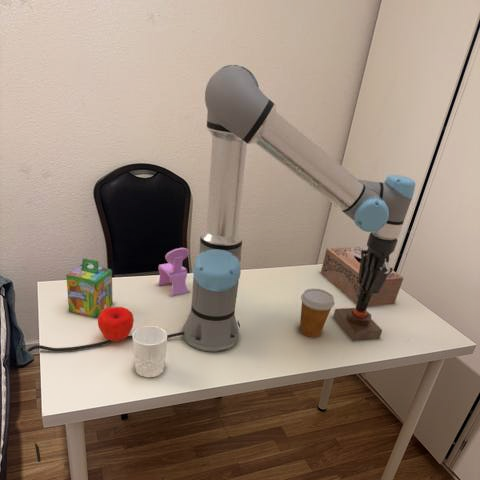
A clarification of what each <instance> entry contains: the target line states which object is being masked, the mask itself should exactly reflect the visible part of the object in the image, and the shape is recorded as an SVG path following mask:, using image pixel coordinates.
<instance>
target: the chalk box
mask: <svg viewBox="0 0 480 480" xmlns="http://www.w3.org/2000/svg"><path fill="white" fill-rule="evenodd" d="M65 278H66V291H67V302H68V303H67V305H68V312H73V313H75V314H81V315H84V316H88V317H92V318H96V319H98V317H99V315H100V313H101V312H102V311H103V310H104V309H106V308H109V307H112V305H113V303H114V302H113V301H114V300H113V270H112V269H111V268H108V267H104V266H99V261H98V260H95V259H90V258H82V261H81V264H80V265H78V266H77V267H76V268H74V269H73V270H71V271H70V272H69V273H67V274H66V275H65Z"/></svg>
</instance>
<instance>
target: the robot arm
mask: <svg viewBox="0 0 480 480" xmlns="http://www.w3.org/2000/svg"><path fill="white" fill-rule="evenodd" d="M204 102H205V107H206V110H207V111H206V112H207V115H206V129H207V131H209V133H210V134H211V152H210V153H211V154H210V166H209V167H210V169H209V183H208V185H209V186H208V200H207V213H206V215H207V216H206V228H205V229H203V231H200V235H199V236H200V238H199V253H198V255H197V256H196V258H195V260H194V264H193V267H192V273H193V277H192V291H191V292H192V293H191V304H190V305H191V306H190V308H191V309H190V311H189V313H188V315H187V317H186V320H185V322H184V324H183V328H182V331H180V332H174V333H171V334H167V339H170V338H175V337H180V336H182V338H183V340H184V341H185V343H186V344H188V345H189V346H190V347H192V348H194V349H197V350H199V351H203V352H208V353H217V352H224V351H227V350H230V349H232V348H233V347H234V346H236V344H237V343H238V340H239V329H240V328H241V324H240V322H239V320H237V319H236V315H235V311H236V306H237V305H236V304H237V297H238V289H239V282H240V277H241V271H242V270H241V260H242V248H243V247H242V246H243V236H242V234H241V233H240V232H239V223H240V214H241V213H240V212H241V203H242V196H243V195H242V194H243V184H244V175H245V167H246V166H245V165H246V156H247V145H252V144H255V145H257V146H258V148H260V149H262V150H263V151H264V152H266V153H267V154H268V155H269V156H271V158H273V159H274V160H275V161H277V162H278V163H279V164H281V165H282V166H283V167H285V168H286V169H287V170H289V171H290V172H291V173H292V174H294V175H295V176H296V177H298V178H299V179H300V180H301V181H303V182H304V183H305V184H307V185H308V186H309V187H310V188H312V189H313V190H314V191H316V192H317V193H318V194H319V195H320V196H322V197H323V198H325V199H326V200H327V201H328V202H329V203H331V204H333V206H334V207H336V208H338V209H339V210H340V211H341V212H342V213H343V214H345V215H346V216H347V217H349V218H350V219H351V220H352V221H353V222H354V224H355V225H356V226H357V227H358V228H359V229H361V231H363V232H365V233H369V235H368V238H367V241H366V246H367V249H363V250H361V263H360V270H359V277H358V284H360V288H361V290H360V293H359V299H358V302H357V304H356V306H355V308H356V310H357V311H366V310H367V309H368V307H367V306H368V303H369V302H370V299H371V296H372V294H378V293H379V291H380V289H381V287H382V285H383V284H384V282H385V280H386V278H387V276H388V275H389V274H390V273H391V272H392V271H394V269H393V267H390V265H389V262H390V256H391V254H392V253H394V252H395V250H396V247H397V244H398V238H399V237H400V235H401V232H402V228H403V225H404V222H405V219H406V216H407V214H408V211H409V208H410V205H411V203H412V201H413V196H414V192H415V189H416V181H415V180H414V179H412V178H411V177H408V176H405V175H400V174H388V175H387V176H386V178H385V180H384V182H382V181H371V180H367V179H366V180H365V179H359V178H357V177H356V176H355V175H353V174H352V173H351V172H350V171H349V170H347V168H346V167H344V166H342V165H341V164H340V163H339V162H338V161H336V160H335V159H334V158H333V157H332V156H330V155H329V154H328V153H327V152H326V151H325V150H323V149H322V148H321V147H320V146H318V145H317V144H316V143H315V142H314V141H312V140H311V139H310V138H309V137H308V136H306V135H305V134H303V132H302V131H301V130H299V129H298V128H296V127H295V126H294V125H293V124H291V122H290V121H288V120H287V119H286V118H284V117H283V116H282V115H281V114H279V113H278V112H277V106H276V104H275V102H273V101H272V100H271V99H269V97H267V95H265V93H263V91H262V90H261V89H260V87H259V83H258V80H257V78H256V77H255V75H254V73H252V71H251V70H249V69H248V68H246V67H245V66H241V65H238V64H228V65H225V66H223V67H221V68H219V69H218V70H217V71H215V73H213V75H211V77H210V78H209V80H208V82H207V83H206V85H205V91H204ZM124 340H133V337H132V335H128V336H127V337H126V338H125V339H124ZM114 342H115V341H110V340H107V339H106V340H103V341H99V342H96V343H90V344H84V345H83V344H82V345H78V346H69V347H51V346H46V345H40V344H37V345H33V346H30V347H29V348H28V349H27V351H26V352H28V353H29V352H32V351H33V350H37V349H39V350H45V351H49V352H69V351H77V350H85V349H90V348H96V347H100V346H104V345H107V344H111V343H114ZM34 447H35V453H36V458H37V462H38V463H40V462H42V459H41V454H40V448H39V445H38V444H37V443H36V442H35V441H34Z"/></svg>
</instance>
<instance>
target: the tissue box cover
mask: <svg viewBox="0 0 480 480" xmlns="http://www.w3.org/2000/svg"><path fill="white" fill-rule="evenodd" d="M361 250H364V249H363V248H362V247H360V246H348V247H347V246H346V247H345V246H344V247H328V248H326V249H325V253H324V256H323V262H322V266H321V270H320V274H321V275H322V276H324V278H326V279H327V280H328V281H329V282H330V283H331V284H332V285H334V286H335V287H336V288H337V289H338V290H339V291H340V292H342V293H343V294H344V295H345V296H346V297H348V298H349V299H350V301H352V302H353V303H354V304H356V305H357V302H358V299H359V293H360V290H361V288H360V284H358V277H359V270H360V263H361ZM403 281H404V277H403V276H402V275H400V274H399V273H397V272H396V271H395V270H393V271H392V272H391V273H390V274H389V275H388V276H387V278H386V280H385V282H384V284H383V285H382V287H381V289H380V291H379V293H378V294H372V296H371V299H370V302H369V303H368V306H367V308H368V307H377V306H384V305H385V306H386V305H395V304H396V300H397V298H398V296H399V292H400V289H401V287H402V283H403Z"/></svg>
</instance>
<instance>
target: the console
mask: <svg viewBox="0 0 480 480" xmlns="http://www.w3.org/2000/svg"><path fill="white" fill-rule="evenodd" d="M354 308H355V307H346V308H344V307H343V308H334V312H333V316H332V317H333V319H334V320H335V322H336V323H337V324H338V325H339V327H340V328H341V329H342V330H343V331H344V332H345V334H346V335H347V336H348V337H349V338H350V339H351V341H352V342H358V341H371V340H380V338H381V335H382V332H383V329H382V328H381V327H380V326H379V325H378V324H377V323H376V322H375V321H374V320H373V319H372V315H371V314H370V312H369V311H367V316H366V318H358V317H356V316H354V315H353V311H354Z"/></svg>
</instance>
